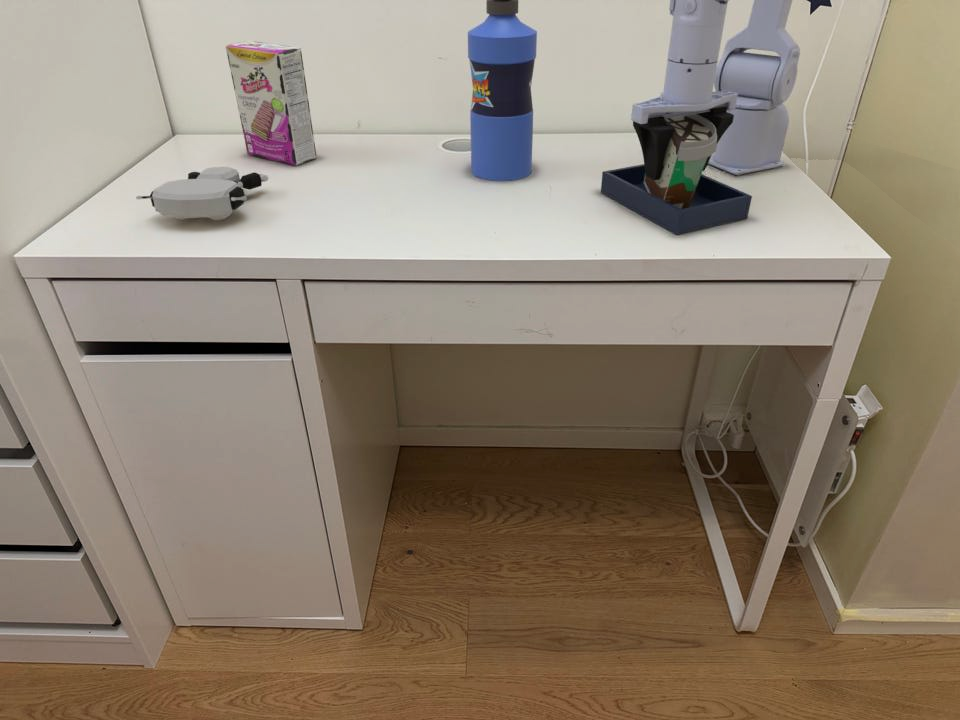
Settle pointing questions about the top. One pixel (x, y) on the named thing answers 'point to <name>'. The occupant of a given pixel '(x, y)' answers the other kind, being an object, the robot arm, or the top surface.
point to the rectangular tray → (705, 209)
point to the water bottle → (501, 94)
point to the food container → (684, 159)
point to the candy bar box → (272, 101)
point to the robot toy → (204, 194)
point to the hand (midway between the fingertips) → (675, 173)
